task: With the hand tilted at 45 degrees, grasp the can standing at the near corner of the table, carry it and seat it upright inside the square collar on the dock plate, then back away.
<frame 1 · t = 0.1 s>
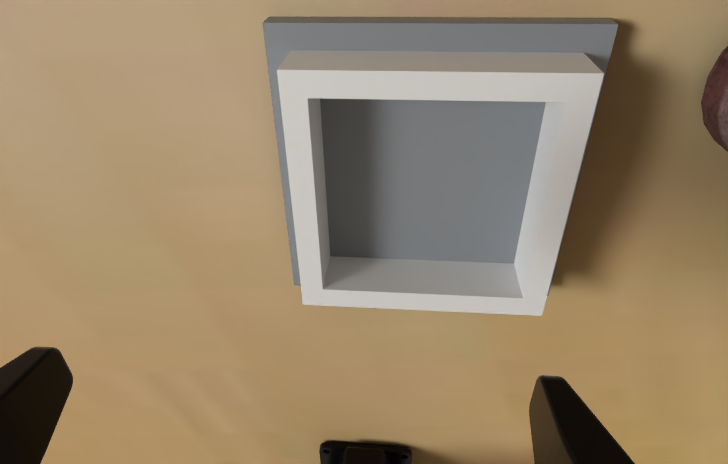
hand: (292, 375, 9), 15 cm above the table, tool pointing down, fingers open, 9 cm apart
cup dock: (425, 168, 23), on the table
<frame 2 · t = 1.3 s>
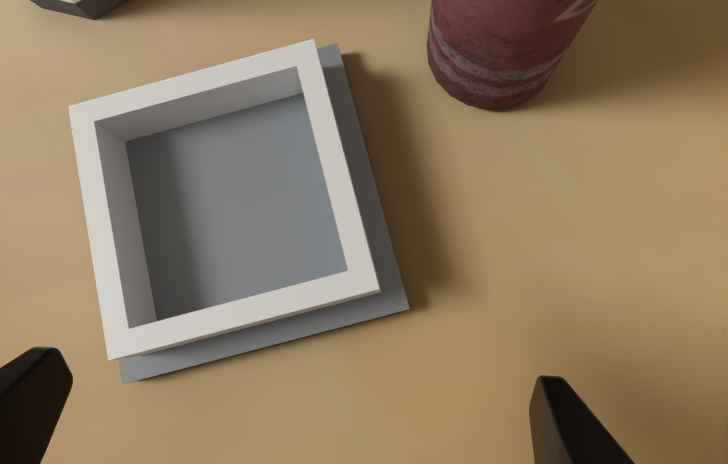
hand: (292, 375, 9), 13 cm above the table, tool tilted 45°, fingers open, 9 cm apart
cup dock: (241, 210, 24), on the table
can: (487, 54, 25), on the table
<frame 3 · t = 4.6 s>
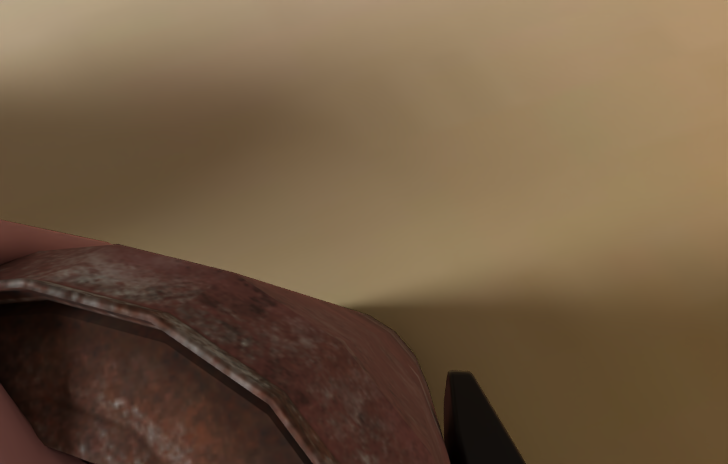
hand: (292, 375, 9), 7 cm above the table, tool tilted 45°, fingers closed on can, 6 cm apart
can: (332, 400, 16), on the table, touching gripper
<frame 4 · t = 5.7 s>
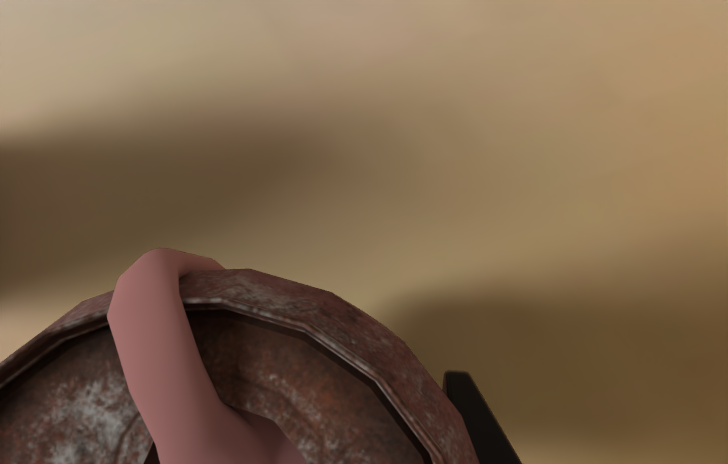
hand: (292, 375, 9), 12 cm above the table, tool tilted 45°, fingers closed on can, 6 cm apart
can: (325, 385, 18), point 3 cm above the table, touching gripper
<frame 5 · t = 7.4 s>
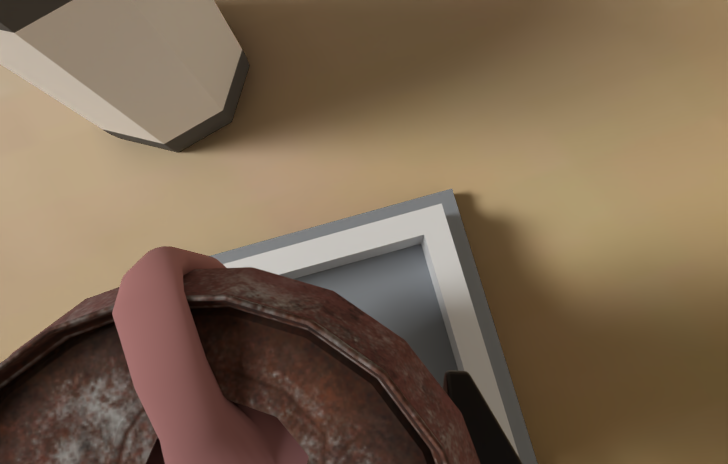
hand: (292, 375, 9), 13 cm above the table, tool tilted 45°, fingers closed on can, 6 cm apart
wine bottle: (174, 80, 25), on the table
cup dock: (350, 370, 22), on the table
can: (322, 384, 18), point 4 cm above the table, touching gripper
when the fingers open (10 cm above the table, at t = 8.7 s): can stays where it is, resting on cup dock.
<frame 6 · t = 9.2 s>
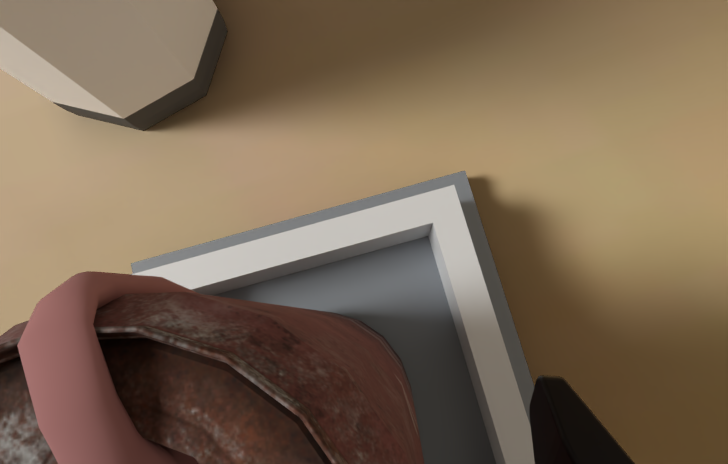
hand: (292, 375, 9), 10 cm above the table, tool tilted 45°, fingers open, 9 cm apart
wine bottle: (140, 48, 22), on the table
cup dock: (343, 388, 19), on the table
can: (323, 396, 18), point 1 cm above the table, touching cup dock
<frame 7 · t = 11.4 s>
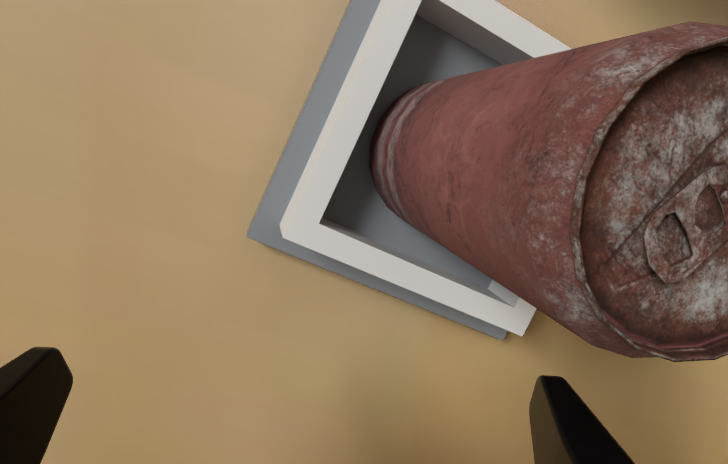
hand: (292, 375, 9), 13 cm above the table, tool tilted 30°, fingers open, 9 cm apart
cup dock: (441, 157, 23), on the table
can: (435, 152, 22), point 1 cm above the table, touching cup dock
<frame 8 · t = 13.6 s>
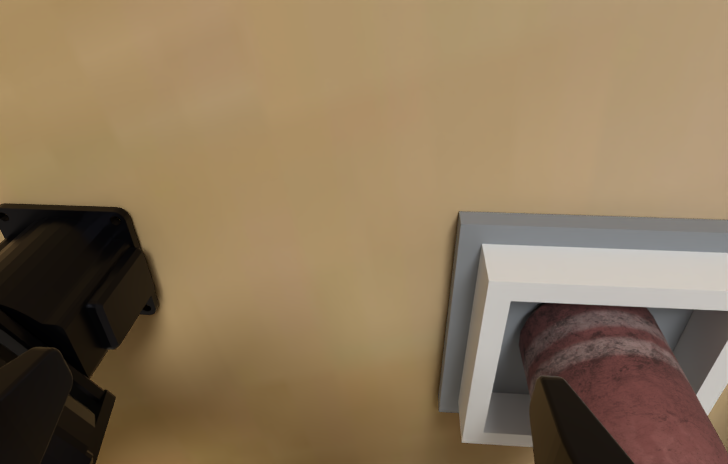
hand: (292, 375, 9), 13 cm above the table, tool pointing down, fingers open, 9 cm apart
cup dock: (576, 323, 26), on the table
can: (583, 326, 25), point 1 cm above the table, touching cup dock
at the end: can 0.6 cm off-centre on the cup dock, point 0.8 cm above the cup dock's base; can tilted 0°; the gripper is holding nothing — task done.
